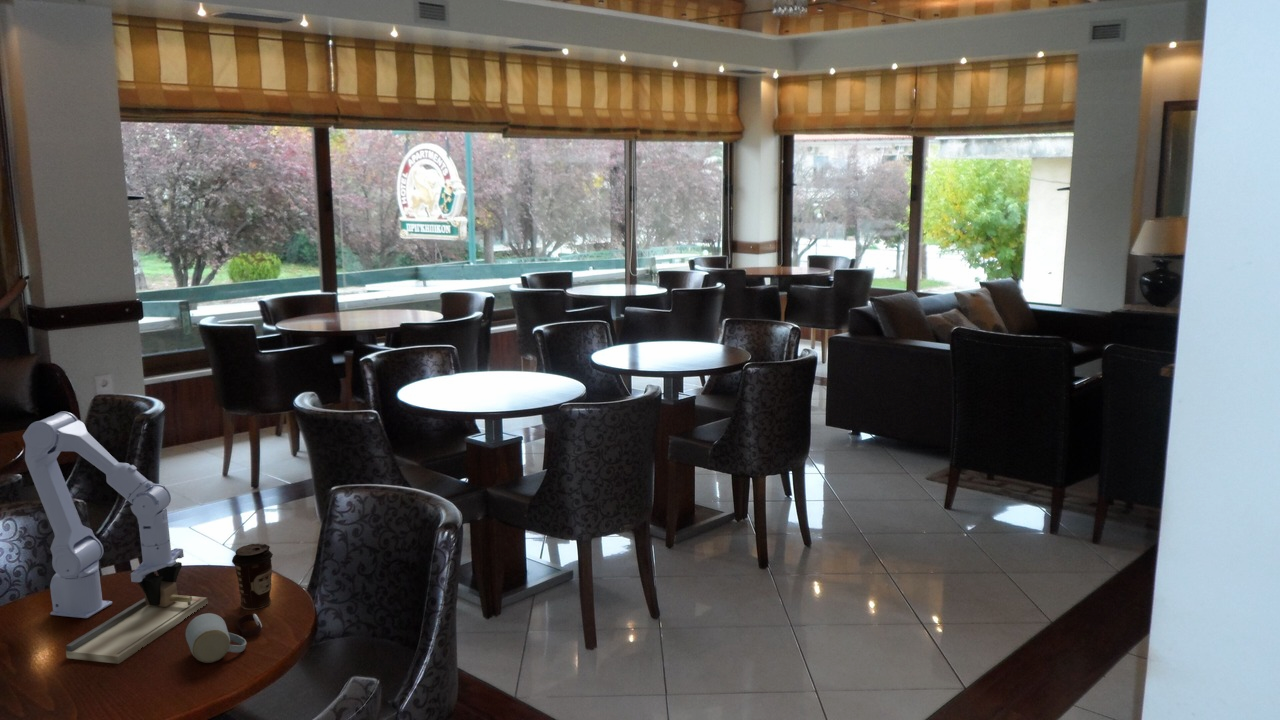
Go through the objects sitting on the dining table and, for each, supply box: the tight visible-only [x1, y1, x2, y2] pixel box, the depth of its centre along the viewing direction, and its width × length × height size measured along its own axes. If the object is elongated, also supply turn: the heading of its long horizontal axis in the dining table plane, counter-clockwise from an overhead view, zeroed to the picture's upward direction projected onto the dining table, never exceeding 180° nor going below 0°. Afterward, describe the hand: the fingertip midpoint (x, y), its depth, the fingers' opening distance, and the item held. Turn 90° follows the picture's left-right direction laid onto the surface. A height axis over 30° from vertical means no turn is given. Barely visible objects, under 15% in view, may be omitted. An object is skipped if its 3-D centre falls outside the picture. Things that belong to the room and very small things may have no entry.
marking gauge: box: [144, 581, 193, 607], centre depth 220 cm, size 10×4×4 cm, turn 78°
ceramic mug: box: [185, 612, 247, 664], centre depth 201 cm, size 11×8×8 cm
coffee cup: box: [231, 543, 274, 611], centre depth 223 cm, size 9×8×13 cm
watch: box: [236, 613, 263, 638], centre depth 211 cm, size 8×5×4 cm, turn 38°
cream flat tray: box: [65, 595, 209, 664], centre depth 212 cm, size 12×28×3 cm, turn 168°
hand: (161, 600), depth 221 cm, fingers closed on marking gauge, 4 cm apart
